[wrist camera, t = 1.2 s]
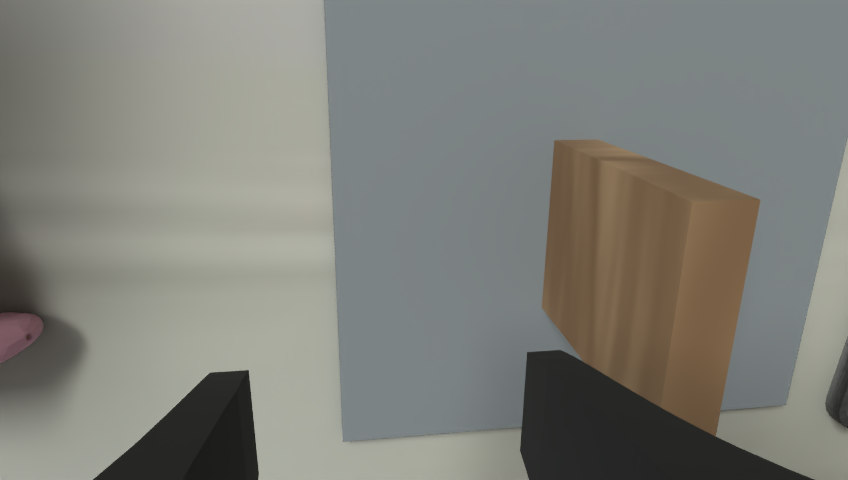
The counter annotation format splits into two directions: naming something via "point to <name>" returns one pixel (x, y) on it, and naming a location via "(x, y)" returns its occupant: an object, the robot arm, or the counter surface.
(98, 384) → the counter surface
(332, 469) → the counter surface
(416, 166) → the rubber mat
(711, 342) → the walnut tile
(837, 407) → the phone
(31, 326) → the video game controller
